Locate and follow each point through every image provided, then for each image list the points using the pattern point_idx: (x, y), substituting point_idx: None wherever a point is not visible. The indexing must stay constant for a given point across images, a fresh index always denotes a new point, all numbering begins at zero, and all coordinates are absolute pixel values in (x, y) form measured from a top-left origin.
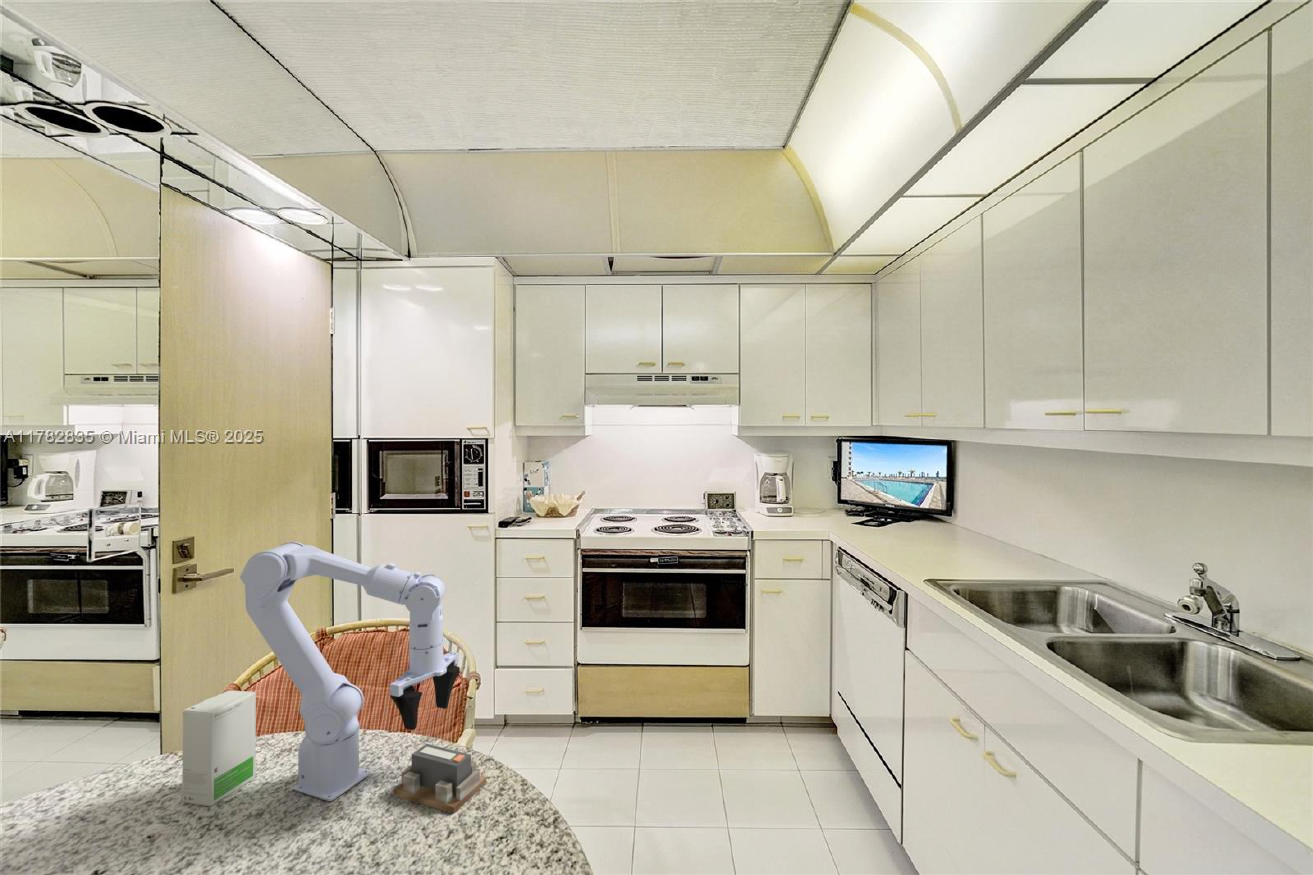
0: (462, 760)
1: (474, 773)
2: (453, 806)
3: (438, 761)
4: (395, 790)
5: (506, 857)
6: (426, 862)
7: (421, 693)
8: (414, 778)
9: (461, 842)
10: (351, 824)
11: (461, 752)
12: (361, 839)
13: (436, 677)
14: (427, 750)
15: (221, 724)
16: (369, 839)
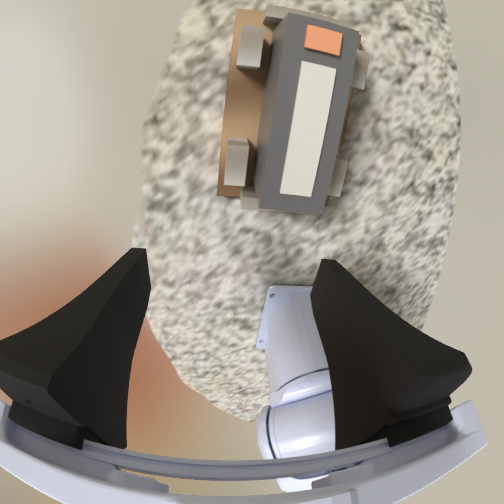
0: (326, 26)
1: (282, 12)
2: (358, 37)
3: (346, 104)
4: (328, 200)
5: None
6: (451, 48)
7: (431, 374)
8: (347, 161)
9: (411, 3)
10: (394, 219)
11: (282, 50)
12: (423, 179)
13: (118, 407)
14: (301, 176)
15: None
16: (424, 166)
